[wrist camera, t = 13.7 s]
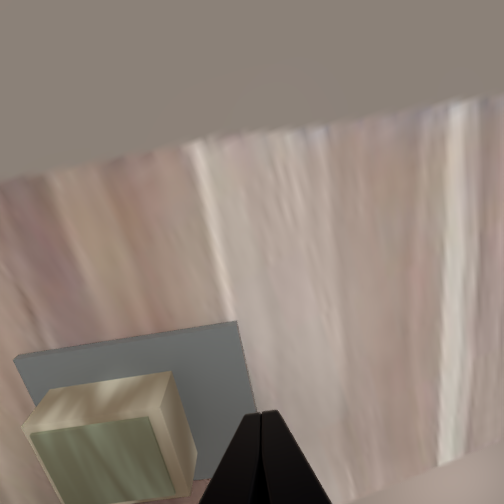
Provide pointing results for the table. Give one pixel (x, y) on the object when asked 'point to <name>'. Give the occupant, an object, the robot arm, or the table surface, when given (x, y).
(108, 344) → the slate mat
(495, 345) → the table surface
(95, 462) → the beech board
